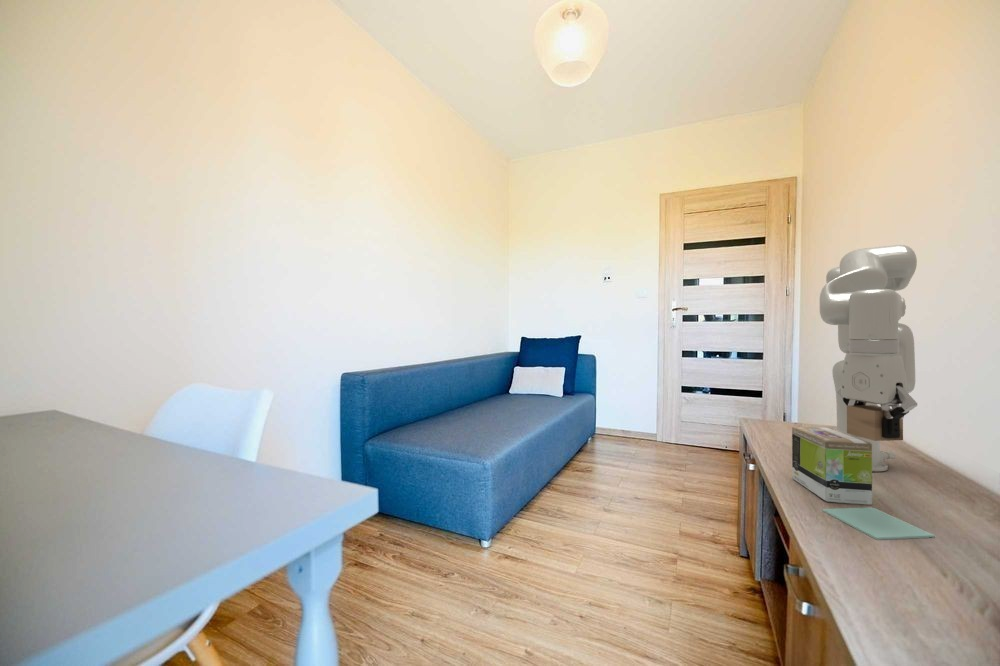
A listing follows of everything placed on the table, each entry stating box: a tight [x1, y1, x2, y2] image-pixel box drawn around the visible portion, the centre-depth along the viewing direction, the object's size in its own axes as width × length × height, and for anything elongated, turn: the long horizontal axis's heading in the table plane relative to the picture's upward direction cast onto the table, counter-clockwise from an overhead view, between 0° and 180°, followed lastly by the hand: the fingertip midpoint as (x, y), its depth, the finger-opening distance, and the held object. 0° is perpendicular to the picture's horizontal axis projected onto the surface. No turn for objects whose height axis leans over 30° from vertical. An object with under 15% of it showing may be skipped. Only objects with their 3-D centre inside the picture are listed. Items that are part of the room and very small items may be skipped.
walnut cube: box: [847, 405, 904, 442], centre depth 81 cm, size 6×6×6 cm
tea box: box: [791, 426, 873, 506], centre depth 97 cm, size 15×10×15 cm, turn 168°
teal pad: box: [821, 506, 936, 541], centre depth 81 cm, size 12×12×1 cm
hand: (874, 432), depth 81 cm, fingers closed on walnut cube, 6 cm apart
